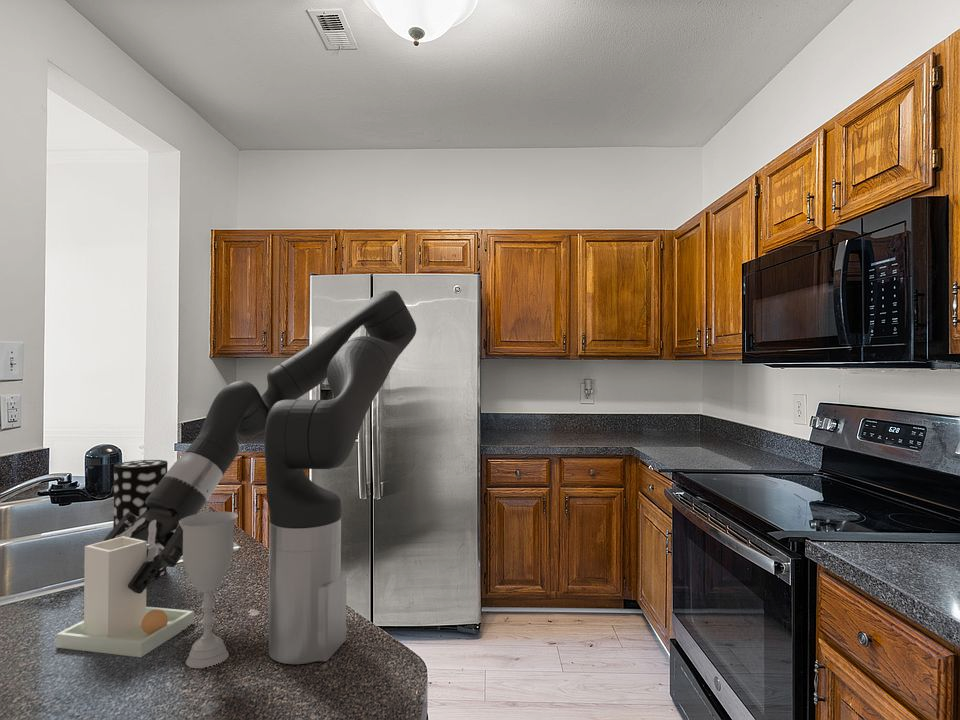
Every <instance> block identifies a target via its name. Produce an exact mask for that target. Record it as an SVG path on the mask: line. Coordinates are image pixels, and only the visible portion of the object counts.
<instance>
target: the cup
mask: <svg viewBox="0 0 960 720" xmlns="http://www.w3.org/2000/svg"><path fill="white" fill-rule="evenodd" d="M144 562H147V541H143V540H139V539H134V538H129V537H125V536H122V537H118V538H114V539H110V540H107V541H103V540H102V541H100V542H95V543H92V544H88V545H84V570H83V571H84V573H83V574H84V577H83V578H84V579H83V580H84V581H83V582H84V585H83V586H84V587H83V620H84V633H85V634H88V635H92V636H101V637H110V638H117V637H119V636H122V635H124V634H127V633H129V632H131V631H134V630H136V629H139V628H141V627H142V620H143V618H144V616H145V615H146V606H147V588H145V589H144V591H143V592H142V593H140V594H138V593H135V592H133V591H132V590H130V589H129V588H128V584H129V582H130V581H131V580H132V578H133V577H134V576H135V574H136V573H137V571H138V570H139V569H140V567H141V566H142V565H143V563H144Z"/></svg>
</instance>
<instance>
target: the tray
mask: <svg viewBox="0 0 960 720" xmlns="http://www.w3.org/2000/svg"><path fill="white" fill-rule="evenodd" d="M155 609H159V610H162V611H164V612H165V613H166V614H167V617H168V623H167V625H166V626H164V627H163V628H161V629H159V630H158V631H156V632H154V633H153V634H151V635H150V634H147V633H145V632H144V631H143V629H142V627H141V628H139V629H136V630H134V631H131V632H129V633H127V634H124V635H122V636H119V637H117V638H110V637H101V636H92V635H88V634H85V633H84V619H83V620H82V621H79V622H77V623H76V624H73V625H72V626H70V627H68V628H65V629H64V630H62V631H60V632H58V633H56V636H55V637H56V638H55V641H56V642H55V648H57V649H66V650H75V651H84V652H91V653H99V654H107V655H108V654H109V655H117V656H126V657H134V658H142V657H144V656H145V655H147V654H148V653H150V652H152V651H153V650H155V649H156V648H158V647H159V646H161V645H163V644H164V643H167V641H168V640H170V639H172V638H174V637H175V636H177V635H178V634H180V633H181V632H183V631H185V630H186V629H187V628H189V627H190V625H191V624H192V625H194V624H193V623H195V610H187V609H179V608H177V609H176V608H168V607H167V608H166V607H157V606H156V607H155V606H147V605H146V614H147V613H148V612H150V611H152V610H155ZM192 625H191V626H192ZM188 626H189V627H188ZM182 630H183V631H182Z"/></svg>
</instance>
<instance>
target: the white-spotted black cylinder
mask: <svg viewBox="0 0 960 720" xmlns="http://www.w3.org/2000/svg"><path fill="white" fill-rule="evenodd" d="M168 463H169V462H168V460H162V459H143V460H141V459H139V460H132V461H129V460H128V461H123V462H118V463H116V464H114V466H113V521H112V522H113V524H112V525H113V528H112V530H113V529H114V527H115V526H116V525H117V524H118V523H119V521H120V520H121V519H122V518H123V517H124V515H125V514H126V513H128V512H131V513H132V514H134V515H135V516H138V517H139V516H141V515H142V514H143V513H144V512H145V511H146V510H147V505H146V499H147V497H148V496H149V495H150V494H151V492H152V491H153V490H154V489H155V487H156V486H157V485H158V483H159V482H160V481H161V480H162V478H163V477H164V476H165V475H166V473H167V472H168ZM125 529H126V528H125ZM118 537H119V536H118V535H117V536H116V537H115V538H118ZM129 538H132V536H131V537H129ZM148 551H149V550H148V549H147V557H148ZM147 562H148V561H147ZM165 572H166V573H167V566H166V567H164V568H163V569H161V570H159V571H158V572H157V574H156V575H155V576H154V578H156V579H158V578H157V577H159V578H161V577H162V576H161V575H163V574H164V573H165ZM166 573H165V574H166ZM165 574H164V575H165ZM164 575H163V576H164ZM160 576H161V577H160ZM154 578H153V580H155V579H154Z"/></svg>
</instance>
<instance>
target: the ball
mask: <svg viewBox="0 0 960 720" xmlns="http://www.w3.org/2000/svg"><path fill="white" fill-rule="evenodd" d="M167 623H168V617H167V614H166V613H165V612H164V611H162V610H159V609H155V610H152V611H150V612H148V613H147V614H146V615H145V616H144V618H143V620H142V629H143V631H144V632H145V633H147V634H150V635H151V634H153V633H154V632H156V631H158V630H159V629H161V628H163V627H164V626H166V625H167Z"/></svg>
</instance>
